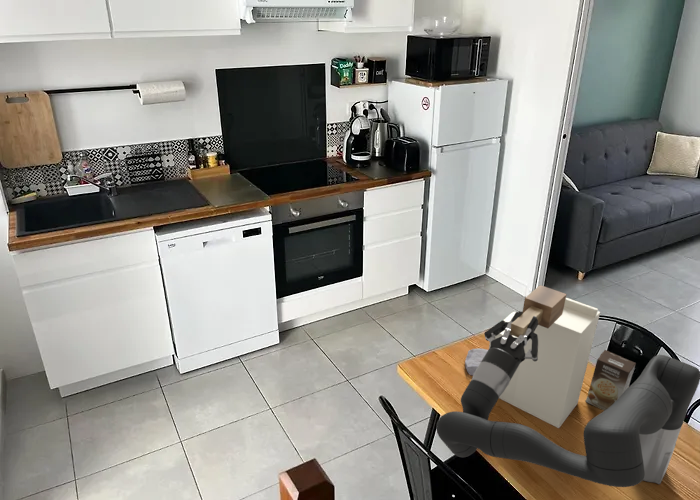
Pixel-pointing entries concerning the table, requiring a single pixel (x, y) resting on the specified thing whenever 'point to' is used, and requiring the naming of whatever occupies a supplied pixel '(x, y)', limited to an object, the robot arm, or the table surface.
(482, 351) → the stone block
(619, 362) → the coffee box
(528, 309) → the mallet
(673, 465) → the table surface
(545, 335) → the step stand
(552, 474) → the table surface
